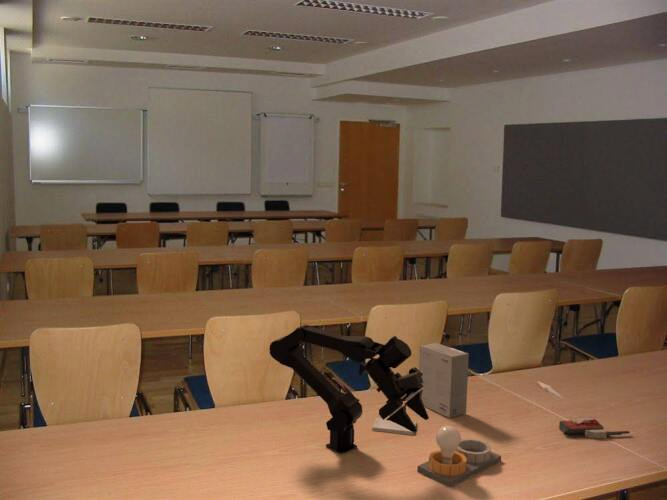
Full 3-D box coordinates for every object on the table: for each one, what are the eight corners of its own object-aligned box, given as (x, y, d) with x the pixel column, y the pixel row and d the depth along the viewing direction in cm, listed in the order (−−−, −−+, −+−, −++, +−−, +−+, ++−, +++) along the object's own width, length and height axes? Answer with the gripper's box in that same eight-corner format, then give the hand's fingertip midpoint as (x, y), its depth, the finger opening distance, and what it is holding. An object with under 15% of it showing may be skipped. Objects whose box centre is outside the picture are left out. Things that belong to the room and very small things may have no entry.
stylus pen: (534, 385, 248) (535, 380, 248) (541, 384, 249) (541, 379, 249) (560, 402, 234) (560, 396, 234) (566, 401, 235) (567, 396, 235)
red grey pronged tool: (567, 441, 202) (631, 438, 204) (568, 426, 201) (632, 424, 204) (554, 429, 210) (615, 426, 213) (555, 415, 210) (616, 412, 212)
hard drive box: (467, 414, 220) (470, 353, 217) (449, 419, 216) (452, 357, 213) (433, 399, 233) (436, 341, 230) (416, 403, 228) (419, 345, 225)
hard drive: (416, 421, 211) (376, 416, 214) (413, 431, 203) (372, 426, 206) (416, 426, 211) (376, 421, 214) (413, 437, 203) (371, 432, 206)
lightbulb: (454, 474, 176) (456, 433, 174) (431, 468, 179) (433, 428, 177) (462, 464, 181) (464, 424, 180) (439, 459, 184) (441, 419, 182)
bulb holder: (451, 486, 172) (451, 471, 172) (417, 471, 180) (417, 456, 180) (501, 461, 187) (501, 447, 186) (467, 447, 195) (468, 434, 194)
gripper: (391, 370, 173) (431, 421, 170) (417, 351, 190) (454, 397, 186) (362, 394, 178) (400, 444, 175) (390, 374, 194) (425, 419, 191)
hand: (421, 425), depth 181 cm, fingers open, 9 cm apart
